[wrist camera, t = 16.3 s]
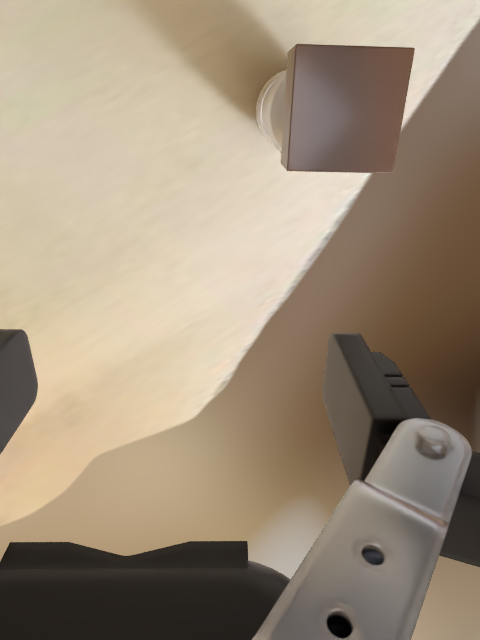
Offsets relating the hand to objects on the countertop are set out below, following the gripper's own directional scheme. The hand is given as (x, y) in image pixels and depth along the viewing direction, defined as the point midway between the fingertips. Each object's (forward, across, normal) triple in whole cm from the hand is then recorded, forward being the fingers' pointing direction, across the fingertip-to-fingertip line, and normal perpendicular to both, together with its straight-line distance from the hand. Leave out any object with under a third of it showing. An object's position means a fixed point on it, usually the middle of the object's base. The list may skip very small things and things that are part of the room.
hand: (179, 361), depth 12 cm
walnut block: (+16, -7, -6) cm, 19 cm away
